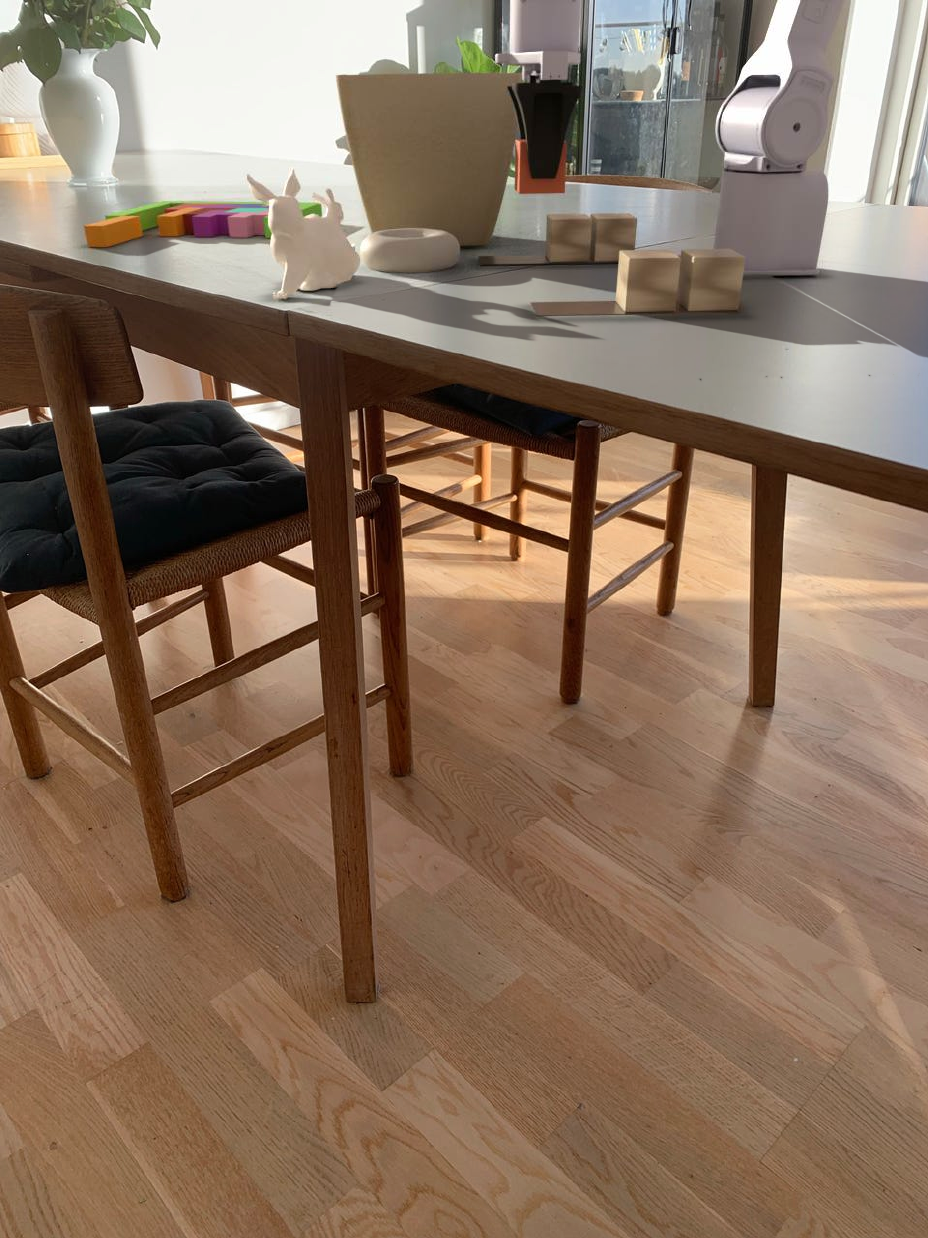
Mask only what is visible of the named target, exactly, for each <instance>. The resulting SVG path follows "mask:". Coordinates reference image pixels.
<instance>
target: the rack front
mask: <svg viewBox="0 0 928 1238" xmlns="http://www.w3.org/2000/svg"><path fill="white" fill-rule="evenodd" d="M745 258H746V257H745V256H743V255H741V254H739V253H737V252H735V251H734V250H732V249H714V248H686V249H685V248H684V249H681V251H680V256H679V255H677V254H676V253H674V252H673V251H671V250H670V249H635V250H620V251H619V264H618V265H617V267H618V268H617V278H616V280H617V281H616V290H615V291H616V293H615V295H616V296H615V300H591V301H590V300H587V301H586V300H585V301H584V300H583V301H582V300H581V301H580V300H579V301H530V302H529V303H530V306H531V307H532V310H533V312H534V313H535V316H536V317H566V316H567V317H570V316H571V317H573V316H621V315H622V316H625V315H627V316H629V315H633V316H634V315H681V314H683V315H685V314H687V315H688V314H692V315H693V314H740V313H741V312H740V311H739V307H740V302H741V301H740V299H741V293H742V284H743V278H744V275H743V272H744V265H745Z"/></svg>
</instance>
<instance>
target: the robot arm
mask: <svg viewBox="0 0 928 1238" xmlns="http://www.w3.org/2000/svg"><path fill="white" fill-rule="evenodd" d="M845 2H846V0H777V2H776V4H775V8H774V10H773V14H772V16H771V19H770V23H769V26H768V29H767V32H766V34H765V38H764V40H763V42H762V44H761V45H760V46H759V48H757V50H756V51H755V52H754V53H753V55H751V57H750V58H749V59H748V61H747V62H746V63H745V65H743V67H742V69H741V72H740V75H739V78H738V81H737V83H736V84H735V87H734V88H733V90H732V91H731V93H730V94H729V95H728V96H727V97H726V99H724V101H723V103H722V104H721V106H720V108H719V110H718V113H717V116H716V120H715V127H714V128H715V129H714V131H715V132H714V133H715V140H716V142H717V145H718V147H719V149H720V151H721V152H722V153H723V154H724V158H723V167H722V168H723V170H722V177H721V185H720V193H719V200H718V210H717V217H716V225H715V233H714V240H713V241H714V242H713V249H732V250H734V251H735V252H737V253H739V254H741V255H743V256H745V257H746V258H745V265H744V272H743V276H744V275H748V276H749V275H751V276H752V275H768V276H770V277H778V276H779V277H780V276H781V277H784V276H785V277H786V276H788V277H789V276H790V277H791V276H818V275H819V273H820V270H819V269H818V268H817V267H818V261H819V255H820V250H821V244H822V239H823V233H824V228H825V221H826V215H827V210H828V206H829V181H828V178H827V176H826V174H825V172H823V170H819V169H807V165H808V160H809V159H810V158H812V156H814V155H815V153H816V152H818V149H819V148H820V146H821V145H822V143H823V141H824V138H825V136H826V132H827V129H828V121H829V118H828V115H829V114H828V110H829V109H828V105H829V99H830V96H831V92H832V89H833V86H834V84H835V76H834V74H833V71H832V69H831V67H830V63H829V61H828V59H827V51H828V48H829V46H830V43H831V40H832V37H833V35H834V31H835V29H836V26H837V24H838V22H839V21H838V20H839V18H840V15H841V12H842V9H843V7H844V4H845ZM581 5H582V0H510V1H509V53H496V54H495V55H494V59H495V60H494V62H495V64H506V65H508V66H514V67H516V66H517V67H521V68H522V71H521V73H522V80H524V81H526V82H524V83H512V86H506V90H507V93H508V95H509V98H510V100H511V103H512V106H513V109H514V112H515V116H516V119H517V124H518V127H517V130H518V135H519V140H521V139H526V146H527V156H528V164H529V170H530V174H531V178H532V179H554V178H556V175H557V172H558V168H559V164H560V159H561V154H562V149H563V144H564V141H566V140H565V138H566V135H567V130H568V127H569V123H570V121H571V118H572V116H573V115H572V114H573V112H574V110H575V108H576V105H577V103H578V101H579V99H580V97H581V95H582V93H583V90H584V86H583V85H573V82H570V81H567V80H568V77H569V76H568V75H569V74H568V73H569V66H573V65H575V66H576V65H577V66H578V65H580V64H581V52H579V47H580V28H581V27H580V25H581ZM563 81H565V82H563ZM566 81H567V82H566Z"/></svg>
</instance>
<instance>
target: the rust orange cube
mask: <svg viewBox="0 0 928 1238" xmlns="http://www.w3.org/2000/svg"><path fill="white" fill-rule="evenodd" d="M567 148H568V142H567V141H566V140H564V144H563V149H562V154H561V159H560V164H559V168H558V172H557V175H556V178H554V179H532V178H531V174H530V170H529V164H528V156H527V146H526V139H521V140H520V139H515V144H514V149H515V150H514V190H515V191H516V192H517V193H518V194H519V195H539V194H540V195H542V194H547V195H548V194H565V193H566V175H567V174H566V173H567V172H566V171H567V150H568V149H567Z"/></svg>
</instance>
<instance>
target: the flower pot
mask: <svg viewBox="0 0 928 1238" xmlns="http://www.w3.org/2000/svg"><path fill="white" fill-rule="evenodd" d="M335 81H336V87H337V93H338V100H339V106H340V111H341V117H342V122H343V127H344V132H345V137H346V141H347V146H348V151H349V155H350V159H351V163H352V168H353V172H354V176H355V180H356V184H357V187H358V192H359V195H360V199H361V203H362V205H363V210H364V213H365V216H366V219H367V223H368V226H369V229H370V232H371V233H374V232H377V231H383V230H390V229H403V228H424V229H436V230H443V231H446V232H448V233H450V234H452V235H454V236H455V237H456V239H457V240H458V242H459V244H460V247H473V246H474V247H475V246H476V247H479V246H488V245H490V243H491V240H492V237H493V235H494V232H495V228H496V226H497V221H498V218H499V215H500V210H501V208H502V207H501V206H502V203H503V199H504V196H505V191H506V189H507V184H508V178H509V174H510V169H511V166H512V165H511V164H512V159H513V155H514V151H515V150H514V149H515V140H517V139H516V138H517V132H518V124H517V119H516V116H515V112H514V109H513V106H512V103H511V100H510V98H509V95H508V93H507V90H506V86H512V83H525V80H522V72H446V73H445V72H439V73H438V72H436V73H435V72H434V73H427V72H424V73H423V72H422V73H374V74H372V73H369V74H368V73H367V74H336V75H335Z"/></svg>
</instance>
